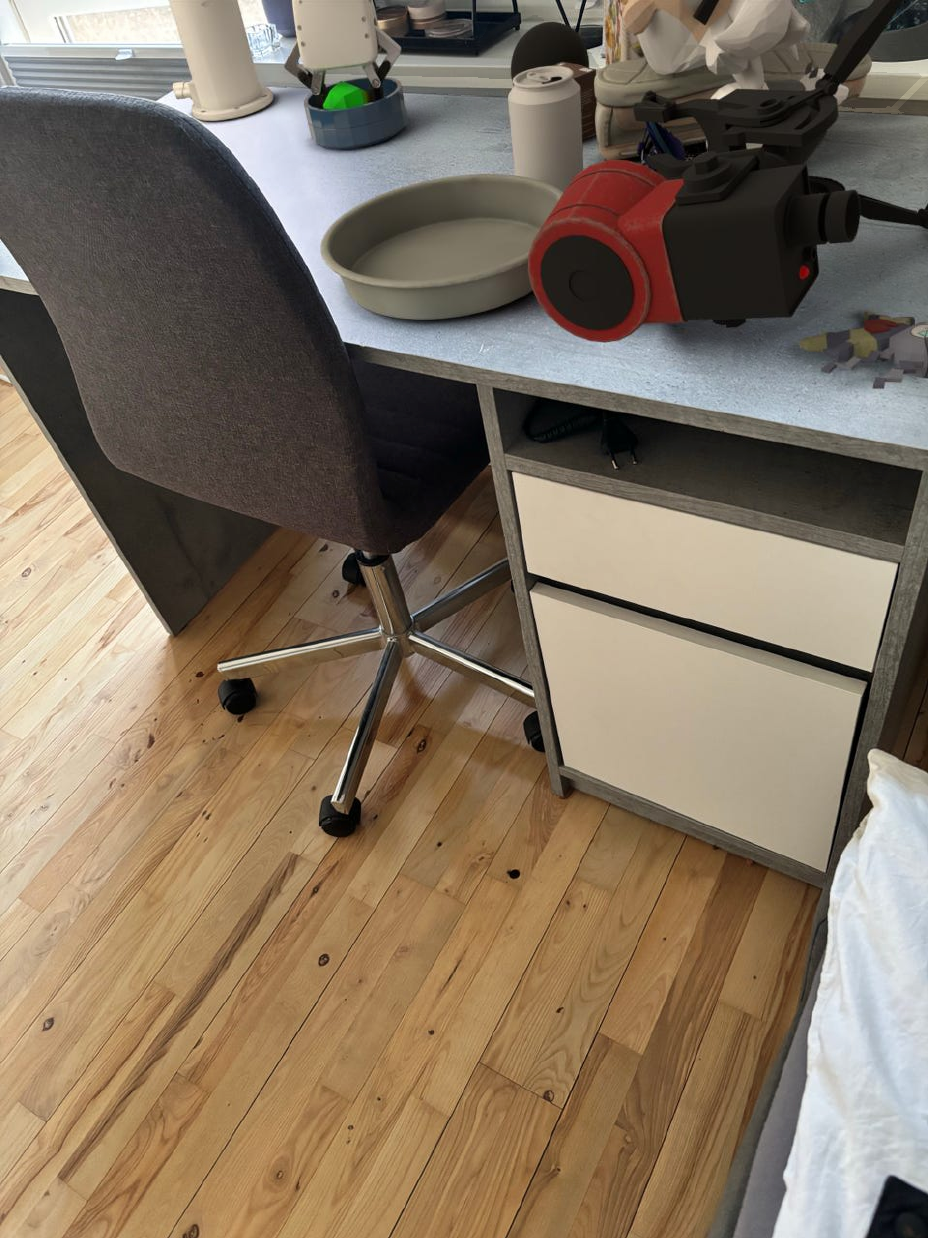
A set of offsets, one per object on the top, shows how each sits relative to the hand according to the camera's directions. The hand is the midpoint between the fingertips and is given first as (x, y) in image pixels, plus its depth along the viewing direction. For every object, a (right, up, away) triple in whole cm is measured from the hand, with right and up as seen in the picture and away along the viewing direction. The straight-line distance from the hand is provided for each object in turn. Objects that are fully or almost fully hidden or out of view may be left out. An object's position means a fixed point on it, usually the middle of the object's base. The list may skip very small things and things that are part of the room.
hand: (354, 119), depth 124 cm
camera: (+44, -21, -40) cm, 63 cm away
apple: (-3, -1, -4) cm, 5 cm away
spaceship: (+36, -16, -27) cm, 48 cm away
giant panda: (+47, -19, -24) cm, 56 cm away
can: (+24, -20, -21) cm, 38 cm away
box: (+27, -8, -10) cm, 30 cm away
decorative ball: (+26, 0, -2) cm, 26 cm away
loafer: (+44, -6, -24) cm, 50 cm away
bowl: (+1, -1, +2) cm, 2 cm away
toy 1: (+31, -3, -40) cm, 50 cm away
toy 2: (+44, -44, -49) cm, 79 cm away
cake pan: (+13, -32, -32) cm, 47 cm away
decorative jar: (+39, -6, -10) cm, 41 cm away
